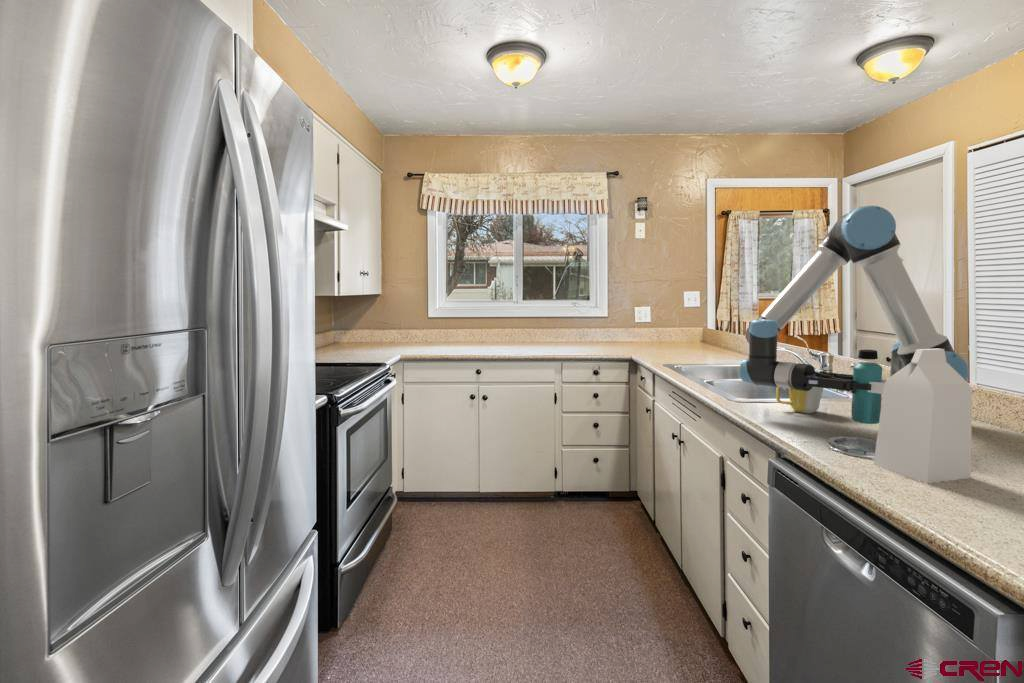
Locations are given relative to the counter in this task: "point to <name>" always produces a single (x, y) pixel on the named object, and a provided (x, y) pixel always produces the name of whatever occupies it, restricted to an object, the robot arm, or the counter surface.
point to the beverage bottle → (865, 402)
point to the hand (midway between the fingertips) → (891, 387)
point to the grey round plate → (853, 446)
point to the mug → (803, 399)
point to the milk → (926, 421)
